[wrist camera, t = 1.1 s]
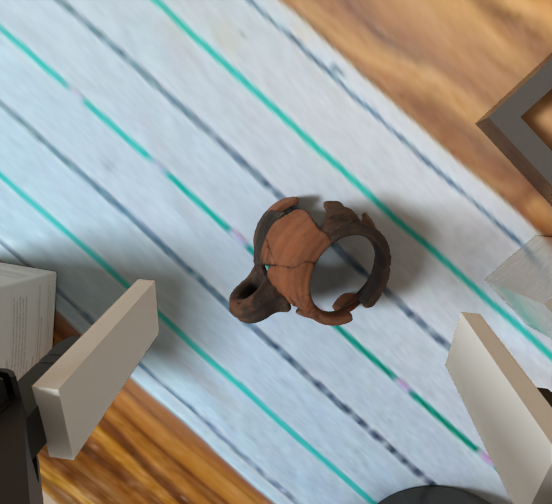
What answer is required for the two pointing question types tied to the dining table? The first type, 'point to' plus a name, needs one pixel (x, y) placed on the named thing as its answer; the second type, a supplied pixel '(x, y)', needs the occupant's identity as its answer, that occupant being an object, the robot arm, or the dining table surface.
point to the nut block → (528, 283)
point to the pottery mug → (304, 264)
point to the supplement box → (25, 316)
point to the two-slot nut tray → (523, 129)
